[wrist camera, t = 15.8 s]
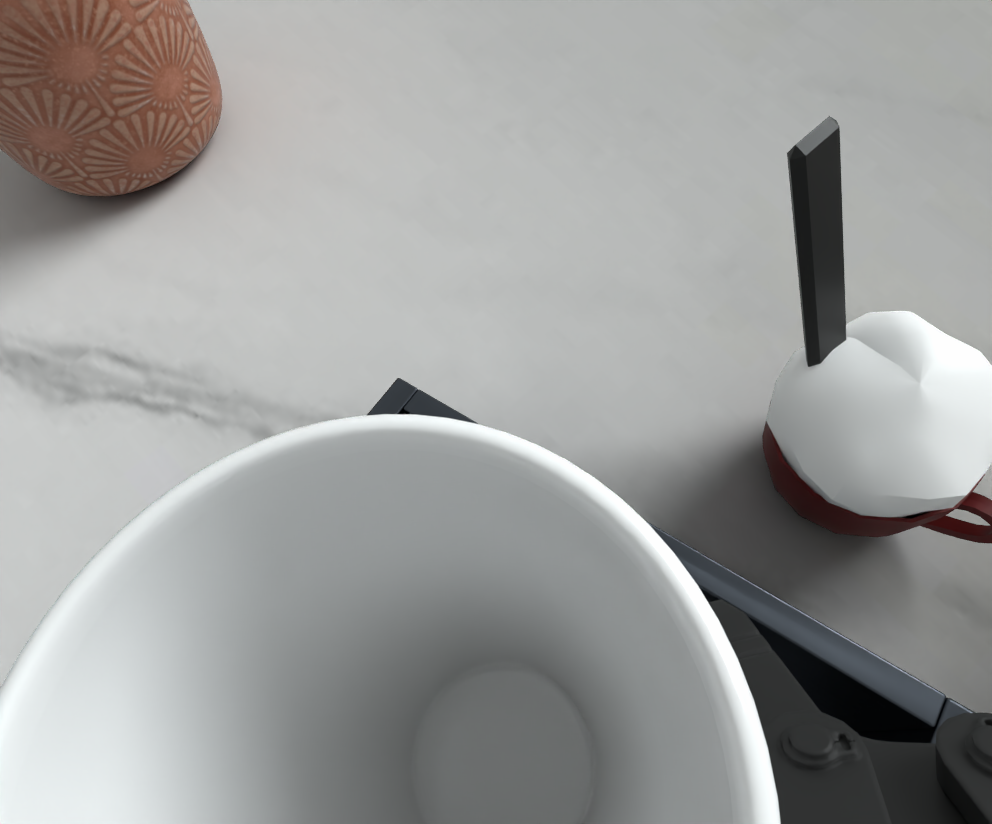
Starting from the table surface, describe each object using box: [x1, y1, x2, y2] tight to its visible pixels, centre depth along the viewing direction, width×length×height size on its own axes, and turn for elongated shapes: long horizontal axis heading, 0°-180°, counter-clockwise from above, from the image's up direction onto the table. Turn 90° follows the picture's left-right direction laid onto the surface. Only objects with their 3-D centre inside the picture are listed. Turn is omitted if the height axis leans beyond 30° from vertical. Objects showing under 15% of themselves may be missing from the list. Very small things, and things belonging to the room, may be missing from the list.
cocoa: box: [763, 116, 992, 543], centre depth 18 cm, size 10×6×12 cm, turn 19°
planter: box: [0, 0, 222, 196], centre depth 32 cm, size 12×12×11 cm
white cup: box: [0, 414, 781, 824], centre depth 12 cm, size 7×7×15 cm
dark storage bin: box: [367, 378, 975, 743], centre depth 17 cm, size 17×14×7 cm
